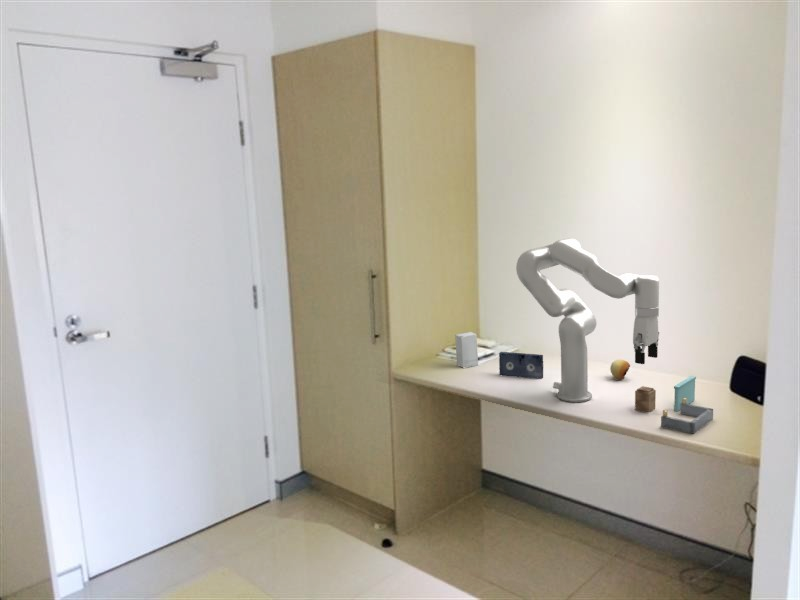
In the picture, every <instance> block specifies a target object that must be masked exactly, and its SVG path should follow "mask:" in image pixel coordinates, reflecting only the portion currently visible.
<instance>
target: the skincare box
mask: <svg viewBox="0 0 800 600" xmlns="http://www.w3.org/2000/svg"><path fill="white" fill-rule="evenodd" d="M455 353H456V366H457V365H459V366H461V367H467V368H470V367H471V366H472V367H476V366H479V354H478V334H476V333H474V332H473V331H468V332H467V331H466V332H464V333H458V334H455ZM459 366H458V367H459ZM461 367H460V368H461Z"/></svg>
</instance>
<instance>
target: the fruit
mask: <svg viewBox="0 0 800 600" xmlns="http://www.w3.org/2000/svg"><path fill="white" fill-rule="evenodd" d="M630 367H631V364H630V363H629V362H628V361H626V360H625V359H624V360H623V359H616V360H614V361H613V362H612V363H611V365H610V368H609V369H610V373H611V374H612V377H614V378H615V379H618V380H623V379H624V378H625V377H626V375H627V372H628V371H629V369H630Z"/></svg>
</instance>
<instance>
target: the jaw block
mask: <svg viewBox="0 0 800 600" xmlns="http://www.w3.org/2000/svg"><path fill="white" fill-rule="evenodd" d="M654 388H655V387H654ZM654 388H653V387H649V386H643V385H642V386H640V387H639V388H637V389H635V390H634V393H635V394H634V410H635V411H639V412H642V413H647V414H648V413H649V414H650V413H651V412H653V411H655V410H656V398H657V397H656V391H657V390H656V389H654Z"/></svg>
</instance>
